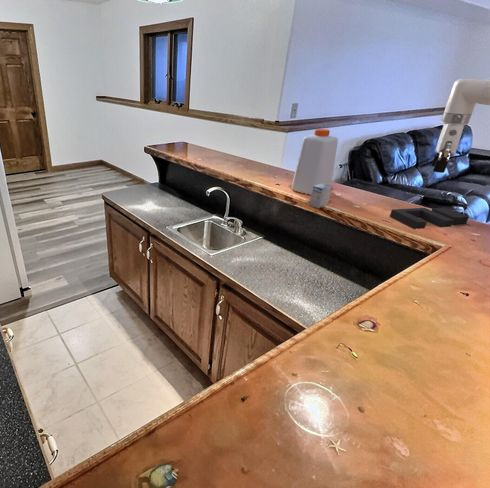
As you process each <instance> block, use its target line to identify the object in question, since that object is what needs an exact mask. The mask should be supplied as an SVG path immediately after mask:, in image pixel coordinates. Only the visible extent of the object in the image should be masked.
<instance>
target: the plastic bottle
mask: <svg viewBox="0 0 490 488" xmlns="http://www.w3.org/2000/svg"><path fill="white" fill-rule="evenodd" d="M330 133H331V132H330V130H329V129H327V128H316V129H315V130H314V133H313V134H310V135H306V136H304V137H303V140H302V144H301V148H300V150H299V151H300V152H299V155H298V160H297V164H296V167H295V171H294V175H293V179H292V183H291V190H292V191H293V190H294V192H296V191H298V192H297V193H299V192H301V193H300V194H303V193H305V194H304V195H307V194H309V195H308V196H311V195H312V190H313V187H314V186H316V185H319V184H322V183H325V184H329V185H332V183H333V176H334V170H335V162H336V157H337V151H338V150H337V149H338V142H339V138H338V137H337V136H332V135H330Z"/></svg>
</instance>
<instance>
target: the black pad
mask: <svg viewBox="0 0 490 488" xmlns="http://www.w3.org/2000/svg"><path fill="white" fill-rule="evenodd" d="M431 211H433V212H436V213H438V214H440V215H443V216H445V217H447V218H450V219H452V220H453V223H452V225H451V226H457V225H467V223H468V220H469V218H470V217H469V216H468V215H466V214H463V213H461V212H458V211H455V210H453V209H450V208H448V207H433V208H432V209H431Z"/></svg>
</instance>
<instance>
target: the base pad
mask: <svg viewBox="0 0 490 488" xmlns="http://www.w3.org/2000/svg"><path fill="white" fill-rule="evenodd" d="M389 217H390V218H392V219H394V220H395V221H398V222H399V223H402V224H403V225H405V226H407V227H409V228H411V229H413V230H423V229H425V228H426V226H427V223H430V224H432V225H435V226H437V227H439V228H451V227H452V226H453V225H452V223H453V220H452V219H450V218H447V217H445V216H443V215H440V214H438V213H436V212H433V211H432V209H429V208H427V207H412V208H396V209H395V208H393V209H391V210H390V214H389Z"/></svg>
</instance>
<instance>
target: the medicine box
mask: <svg viewBox="0 0 490 488" xmlns="http://www.w3.org/2000/svg"><path fill="white" fill-rule="evenodd" d="M332 189H333V185H332V184H331V185H329V184H325V183H322V184H319V185H316V186H314V187H313V190H312V195H310V200H309V206H310V207H313V208H316V209H320V208H323V207H324V206H325V207H326V206H327V205H329V202H330V198H331V193H332Z"/></svg>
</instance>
